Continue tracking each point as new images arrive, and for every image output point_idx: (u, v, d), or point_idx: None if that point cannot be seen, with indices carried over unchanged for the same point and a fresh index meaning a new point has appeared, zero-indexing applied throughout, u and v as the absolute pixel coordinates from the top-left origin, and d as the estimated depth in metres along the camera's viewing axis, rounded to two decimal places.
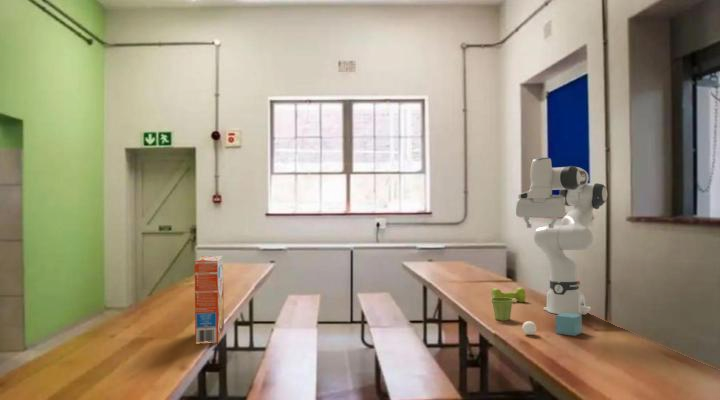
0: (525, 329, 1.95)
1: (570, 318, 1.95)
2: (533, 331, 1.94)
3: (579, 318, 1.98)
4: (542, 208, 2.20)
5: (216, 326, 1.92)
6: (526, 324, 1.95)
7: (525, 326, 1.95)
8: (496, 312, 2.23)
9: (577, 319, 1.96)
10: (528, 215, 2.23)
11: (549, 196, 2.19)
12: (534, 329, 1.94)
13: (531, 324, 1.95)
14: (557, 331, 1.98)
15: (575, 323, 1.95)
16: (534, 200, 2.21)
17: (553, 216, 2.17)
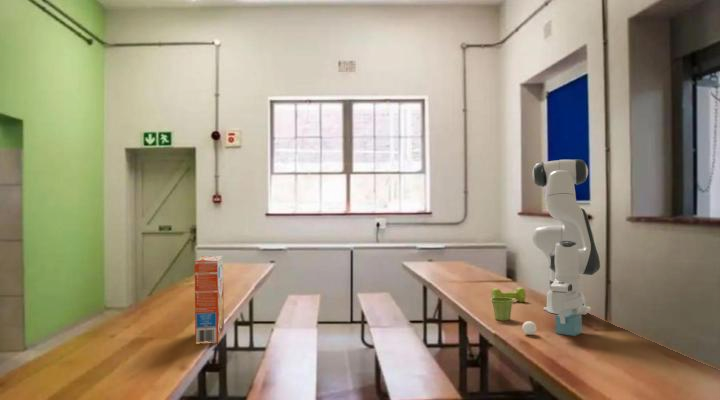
0: (525, 329, 1.95)
1: (570, 318, 1.95)
2: (533, 331, 1.94)
3: (579, 318, 1.97)
4: (574, 299, 1.99)
5: (216, 326, 1.92)
6: (526, 324, 1.95)
7: (525, 326, 1.95)
8: (496, 312, 2.23)
9: (577, 319, 1.96)
10: (568, 309, 1.94)
11: None
12: (534, 329, 1.94)
13: (531, 324, 1.95)
14: (557, 331, 1.98)
15: (575, 323, 1.94)
16: (573, 292, 1.96)
17: (578, 307, 2.02)
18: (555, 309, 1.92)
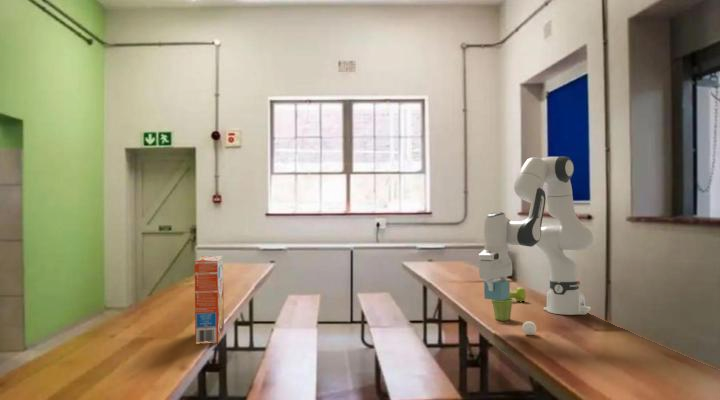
0: (525, 329, 1.95)
1: (497, 283, 2.02)
2: (533, 331, 1.94)
3: (507, 284, 2.05)
4: (502, 268, 2.06)
5: (216, 326, 1.92)
6: (526, 324, 1.95)
7: (525, 326, 1.95)
8: (496, 312, 2.23)
9: (504, 284, 2.03)
10: (495, 277, 2.01)
11: None
12: (534, 329, 1.94)
13: (531, 324, 1.95)
14: (485, 296, 2.05)
15: (502, 288, 2.02)
16: (500, 261, 2.03)
17: None
18: (482, 277, 1.99)
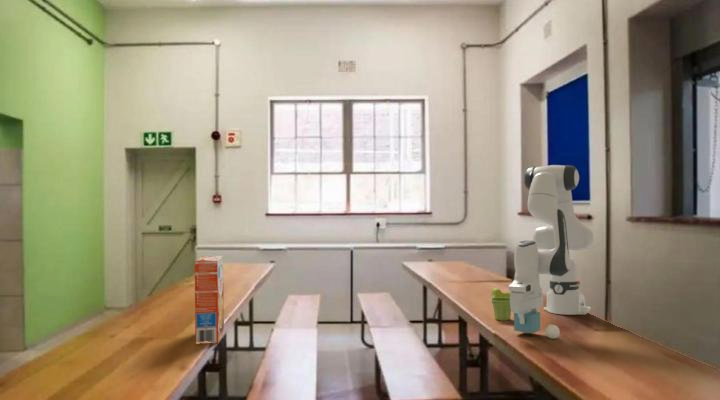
0: (550, 332, 1.88)
1: (528, 315, 1.93)
2: (546, 327, 1.91)
3: (538, 315, 1.96)
4: (533, 300, 1.97)
5: (216, 326, 1.92)
6: (549, 336, 1.89)
7: (549, 335, 1.89)
8: (496, 312, 2.23)
9: (535, 316, 1.94)
10: (526, 310, 1.93)
11: None
12: None
13: None
14: (515, 328, 1.97)
15: (533, 320, 1.93)
16: (532, 292, 1.94)
17: None
18: (513, 310, 1.90)
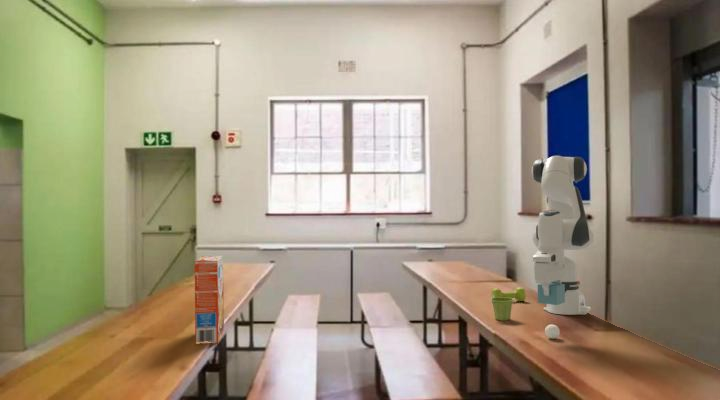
0: (550, 332, 1.88)
1: (552, 287, 1.87)
2: (546, 327, 1.91)
3: (562, 287, 1.90)
4: (558, 271, 1.91)
5: (216, 326, 1.92)
6: (549, 336, 1.89)
7: (549, 335, 1.89)
8: (496, 312, 2.23)
9: (560, 288, 1.88)
10: (551, 281, 1.87)
11: None
12: None
13: None
14: (539, 301, 1.90)
15: (558, 292, 1.87)
16: (557, 263, 1.88)
17: (562, 279, 1.94)
18: (538, 280, 1.84)
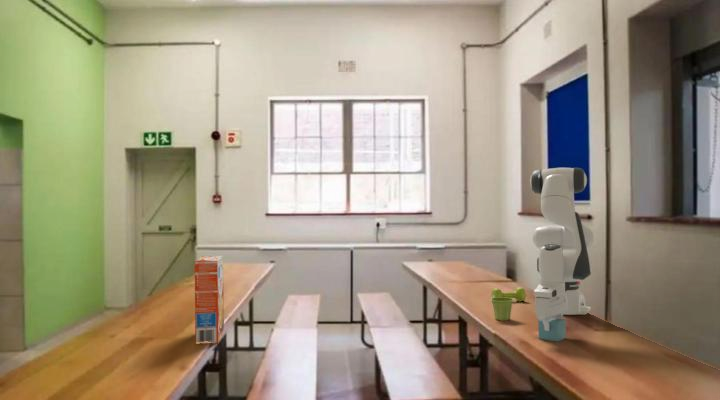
0: None
1: (553, 323, 1.87)
2: None
3: (563, 323, 1.90)
4: (559, 305, 1.91)
5: (216, 326, 1.92)
6: None
7: None
8: (496, 312, 2.23)
9: (560, 324, 1.88)
10: (552, 316, 1.86)
11: None
12: None
13: None
14: (540, 336, 1.90)
15: (559, 328, 1.87)
16: (557, 297, 1.88)
17: (563, 312, 1.94)
18: (539, 316, 1.84)
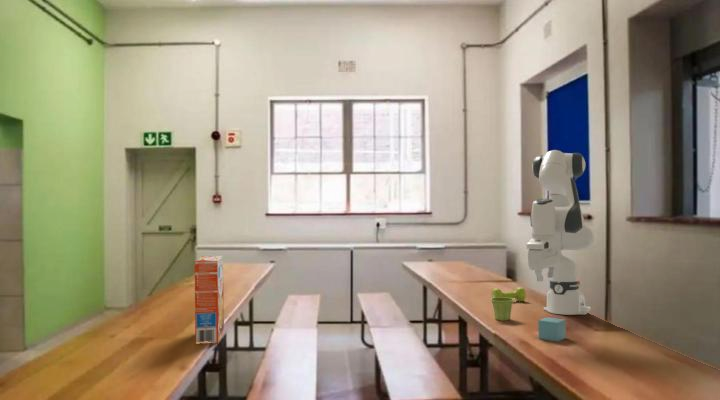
0: None
1: (553, 323, 1.87)
2: None
3: (563, 323, 1.90)
4: (551, 257, 1.97)
5: (216, 326, 1.92)
6: None
7: None
8: (496, 312, 2.23)
9: (560, 324, 1.88)
10: (544, 267, 1.93)
11: None
12: None
13: None
14: (540, 336, 1.90)
15: (559, 328, 1.87)
16: (550, 249, 1.94)
17: (555, 265, 2.01)
18: (531, 267, 1.90)
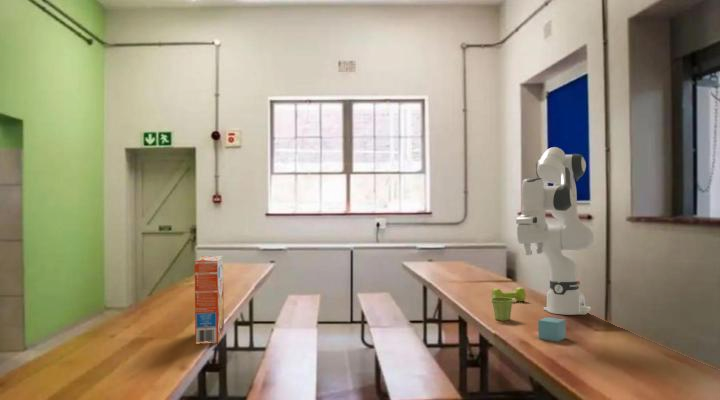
0: None
1: (553, 323, 1.87)
2: None
3: (563, 323, 1.90)
4: (539, 233, 2.06)
5: (216, 326, 1.92)
6: None
7: None
8: (496, 312, 2.23)
9: (560, 324, 1.88)
10: (533, 241, 2.02)
11: None
12: None
13: None
14: (540, 336, 1.90)
15: (559, 328, 1.87)
16: (538, 225, 2.03)
17: (544, 241, 2.09)
18: (520, 240, 1.99)
